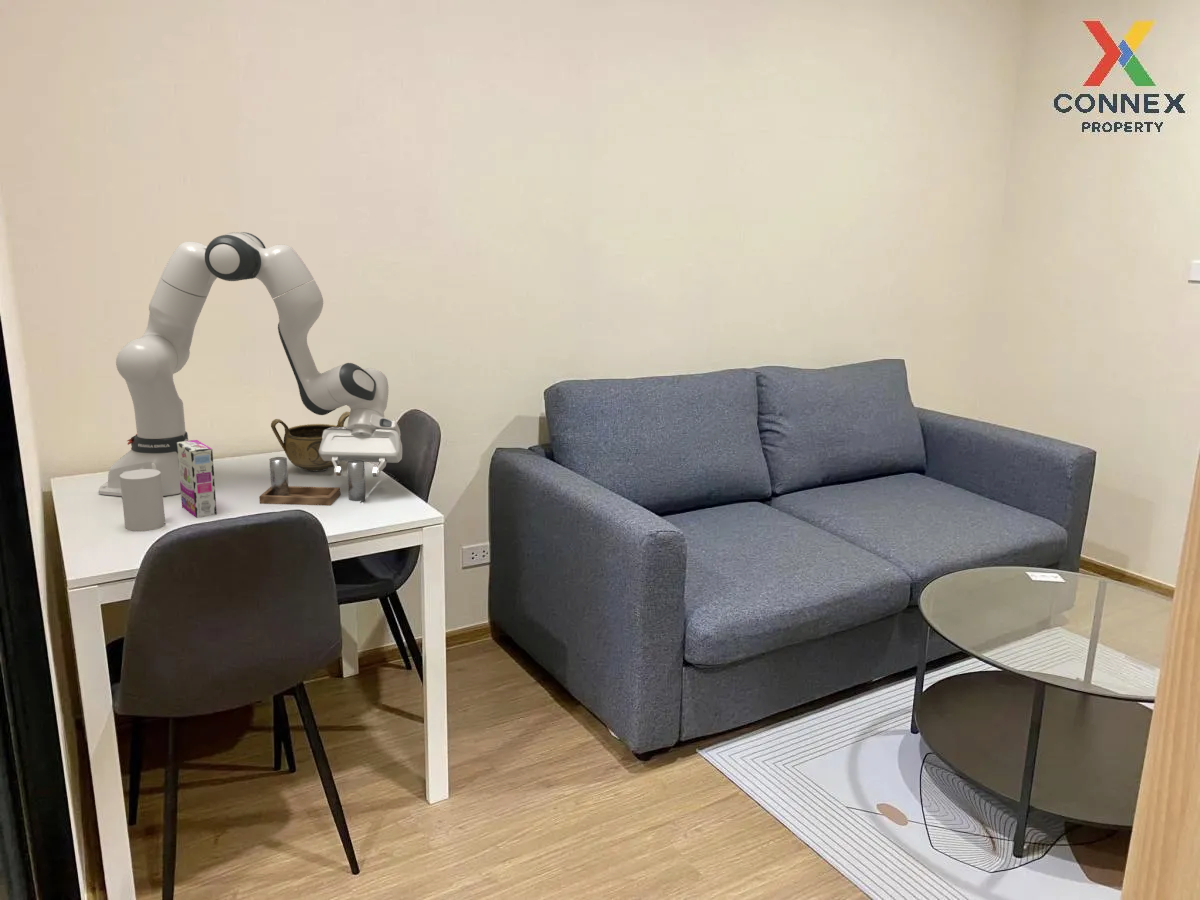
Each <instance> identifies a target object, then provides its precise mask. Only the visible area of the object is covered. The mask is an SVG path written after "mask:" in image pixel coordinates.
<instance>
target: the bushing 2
mask: <svg viewBox="0 0 1200 900" xmlns="http://www.w3.org/2000/svg"><path fill="white" fill-rule="evenodd" d="M365 472H366V471H365V462H364V461H363V460H351V461H348V462H347V482H348V483H347V485H348V486H347V487H348V488H347V489H348V500H349V501H350V502H351V501H352V502H359V503H360V504H362V503H361V502H363V503H365V502H366V501H367V499H366V477H365V476H366V473H365Z"/></svg>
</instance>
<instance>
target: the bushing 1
mask: <svg viewBox="0 0 1200 900" xmlns="http://www.w3.org/2000/svg"><path fill="white" fill-rule="evenodd" d="M269 472H270V487H271V492H272V495H275V496H289V488H288V486H289V474H288V473H289V472H288V457H285V456H276V457H275V456H274V457H270V458H269Z"/></svg>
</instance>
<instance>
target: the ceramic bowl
mask: <svg viewBox="0 0 1200 900" xmlns="http://www.w3.org/2000/svg"><path fill="white" fill-rule="evenodd" d="M349 414H350V411H345V412H343V413H342V414H340V417H339V418H338V420H337V425H335V424H325V423H311V424H309V423H308V424H299V425H295V426H291V427H288V425H287V424H286V422H284V421H283V420H281V419H280V418H275V419H273V420H272V421H271V423H270V427H271V431H273V434H274V435H275V438H276V439H277V441H278V442H279V444H280V446H281V448H282V450H283V451H284V453H285V455H286V458H287V460H289V461H290V463H292V465H294V466H296V468H299V469H301V470H304V471H308V472H322V471H326V470H328V469H331V468H332V467H334V464H333V462H332V461H324V460H323V459H322V458H321V457H320V455H319V448H320V444H321V442H322V435H323V431H324V430H326V429H327V428H330V427H345V426H344V424H345V422H346V420H347V419H348V418H349ZM279 423H280V424H281V425H282V426H283V427H284V435H283V436H284V437H283V439H282V437H281V435H280V433H279V432H278V430H277V425H278V424H279Z"/></svg>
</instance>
